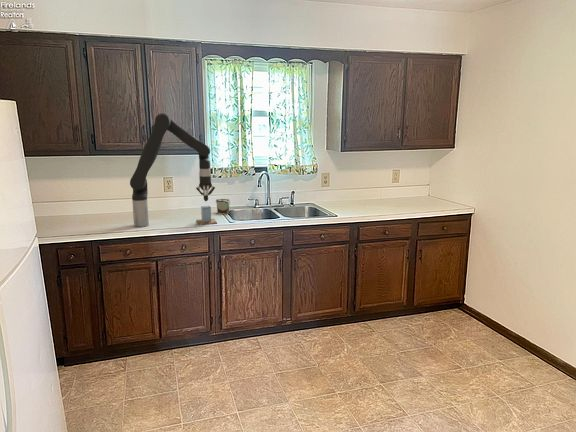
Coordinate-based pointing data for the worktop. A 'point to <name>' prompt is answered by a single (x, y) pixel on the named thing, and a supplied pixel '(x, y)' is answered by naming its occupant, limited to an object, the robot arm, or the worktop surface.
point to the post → (206, 222)
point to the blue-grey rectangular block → (206, 213)
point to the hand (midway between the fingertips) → (206, 200)
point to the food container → (223, 205)
